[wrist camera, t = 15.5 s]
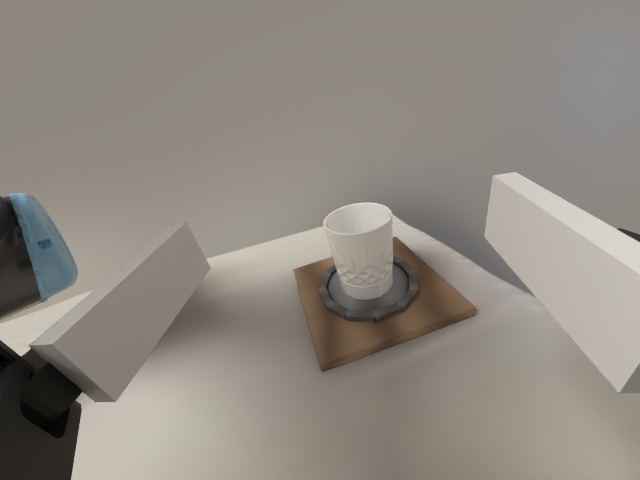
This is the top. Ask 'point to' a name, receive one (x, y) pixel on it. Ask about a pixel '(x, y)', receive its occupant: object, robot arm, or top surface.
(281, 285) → the top surface
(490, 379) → the top surface
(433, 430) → the top surface
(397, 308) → the coaster board
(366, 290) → the white cup
